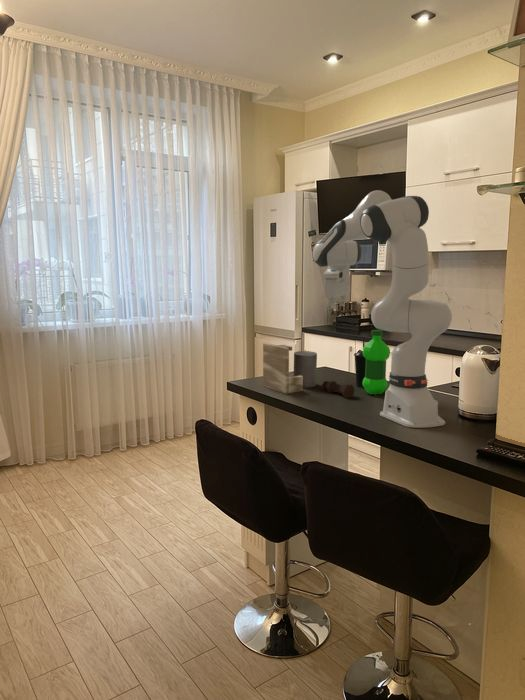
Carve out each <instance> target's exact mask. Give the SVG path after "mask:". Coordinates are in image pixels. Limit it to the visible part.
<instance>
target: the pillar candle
mask: <svg viewBox="0 0 525 700" xmlns="http://www.w3.org/2000/svg"><path fill="white" fill-rule="evenodd" d="M317 359H318V353H317V351H316V352H315V351H311V350H310V351H309V350H306V349H304V350H298V351H295V352H293V377H294V376H303V389H304V388H305V389H306V388H313V387H316V385H317V368H318V367H317V363H318V361H317Z"/></svg>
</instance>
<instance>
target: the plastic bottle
mask: <svg viewBox="0 0 525 700" xmlns="http://www.w3.org/2000/svg"><path fill="white" fill-rule="evenodd" d="M383 331H384V330H380V329H372V330H371V336H372V339H370V340H369V341H367V343H366V344H365V346H364V347H363V346H362V351H363V356H364V357H365V358H366V368H365V378H364V379H363V387H364V388H363V389H364V390H365V391H366V392H367V394H368V393H369V394H368V395H371V394H375V395H374V396H377V395H376V394H380V395H382V394H383V393H385V392H386V390H387V389H388V388H389V382H388V381H387V378H386V376H387V375H386V374H387V360H388V359H389V358H390V354H391V349H390V346H388V344H386V343H385V342H384V341H383V340H382V336H383V334H384V333H383Z"/></svg>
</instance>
